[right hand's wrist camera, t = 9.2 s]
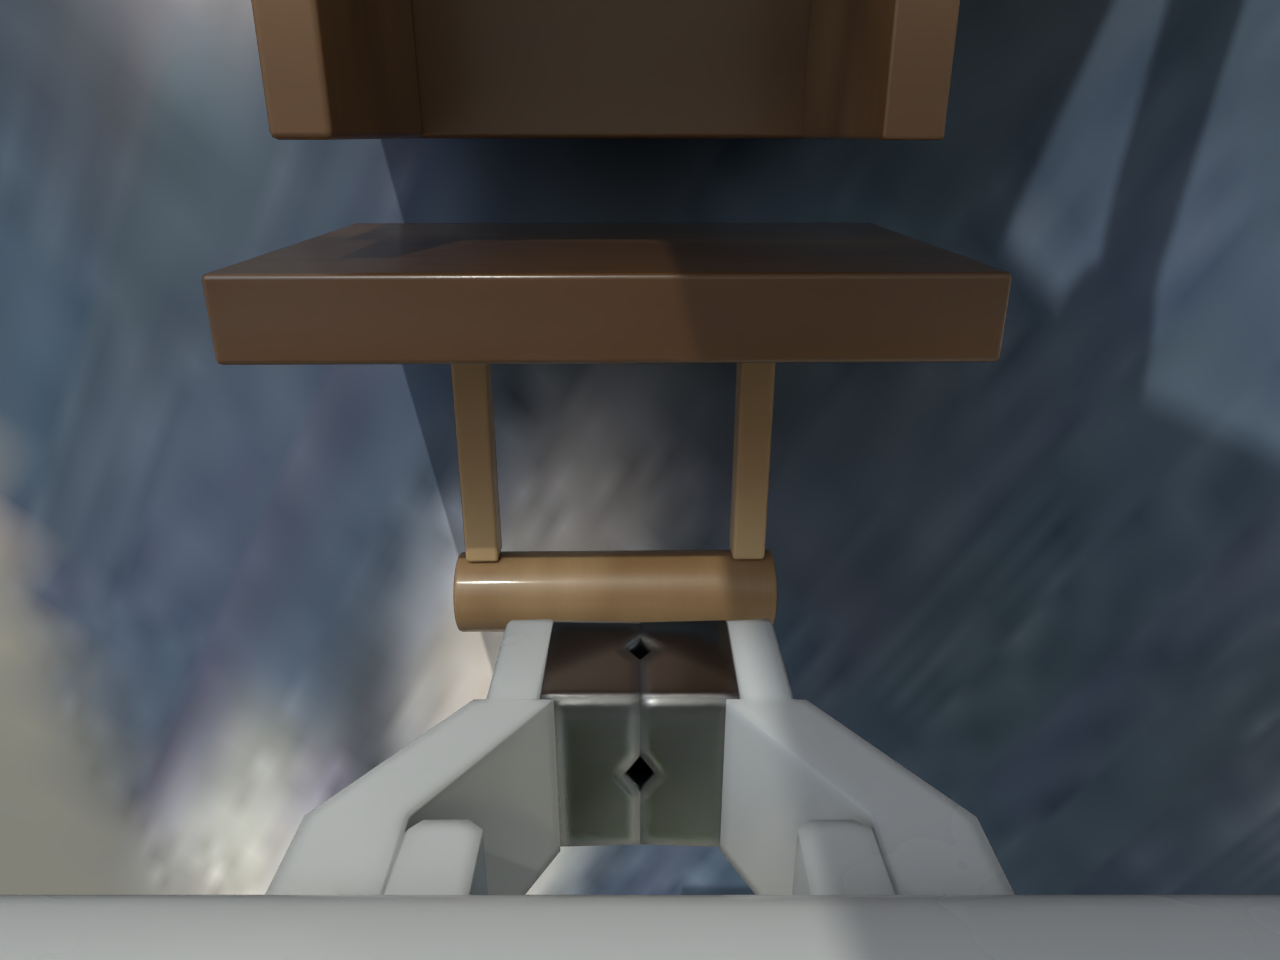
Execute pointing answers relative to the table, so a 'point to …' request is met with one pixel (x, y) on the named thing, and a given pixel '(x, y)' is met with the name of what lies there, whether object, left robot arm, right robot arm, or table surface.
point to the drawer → (607, 242)
